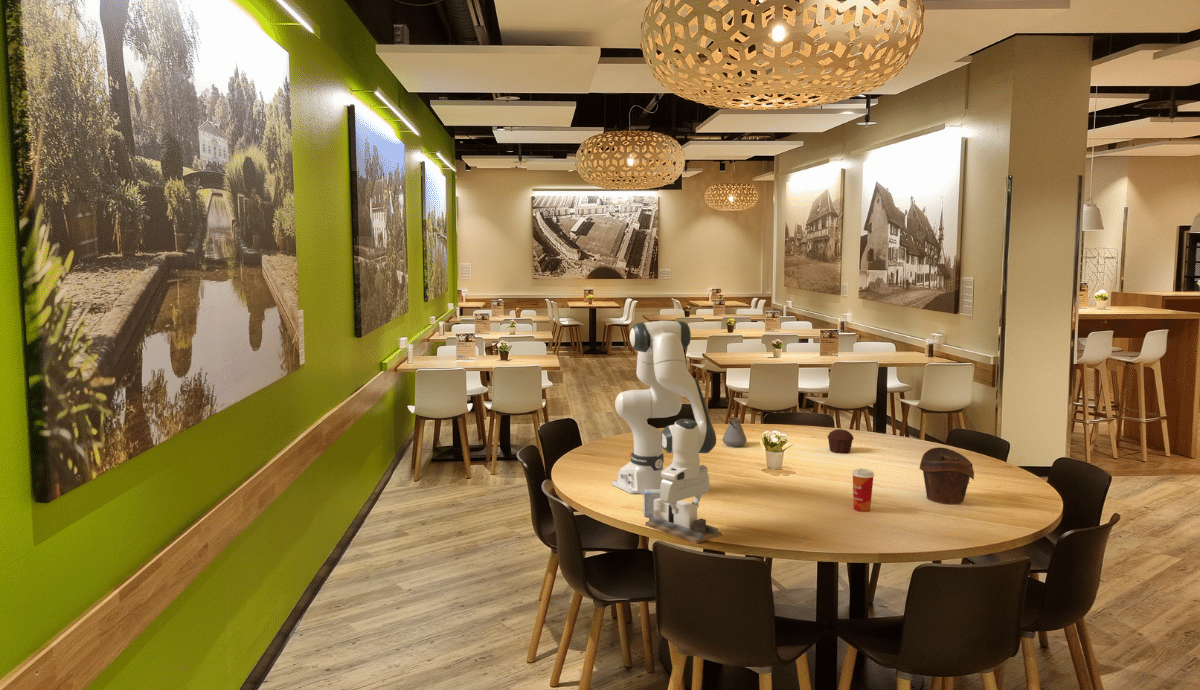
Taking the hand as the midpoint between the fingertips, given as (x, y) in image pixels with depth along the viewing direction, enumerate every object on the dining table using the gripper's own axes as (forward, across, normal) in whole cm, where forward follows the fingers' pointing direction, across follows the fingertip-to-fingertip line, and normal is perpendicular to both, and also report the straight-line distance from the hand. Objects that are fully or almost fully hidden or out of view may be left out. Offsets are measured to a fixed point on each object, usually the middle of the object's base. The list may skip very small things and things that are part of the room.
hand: (685, 510), depth 267 cm
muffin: (+8, -133, -27) cm, 136 cm away
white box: (+6, 0, 0) cm, 6 cm away
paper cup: (+7, -64, +26) cm, 69 cm away
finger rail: (+7, 0, -1) cm, 7 cm away
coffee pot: (+8, -101, -64) cm, 120 cm away
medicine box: (+7, -4, -18) cm, 20 cm away
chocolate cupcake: (+7, -98, +40) cm, 106 cm away
